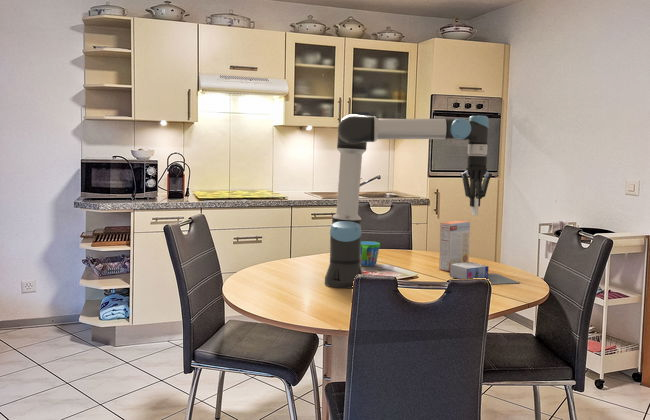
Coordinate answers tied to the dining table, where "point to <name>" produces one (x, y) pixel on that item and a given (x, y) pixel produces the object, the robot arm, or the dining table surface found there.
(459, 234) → the cracker box
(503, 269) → the dining table surface
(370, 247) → the snack cup
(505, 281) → the mat
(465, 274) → the ink cartridge box
